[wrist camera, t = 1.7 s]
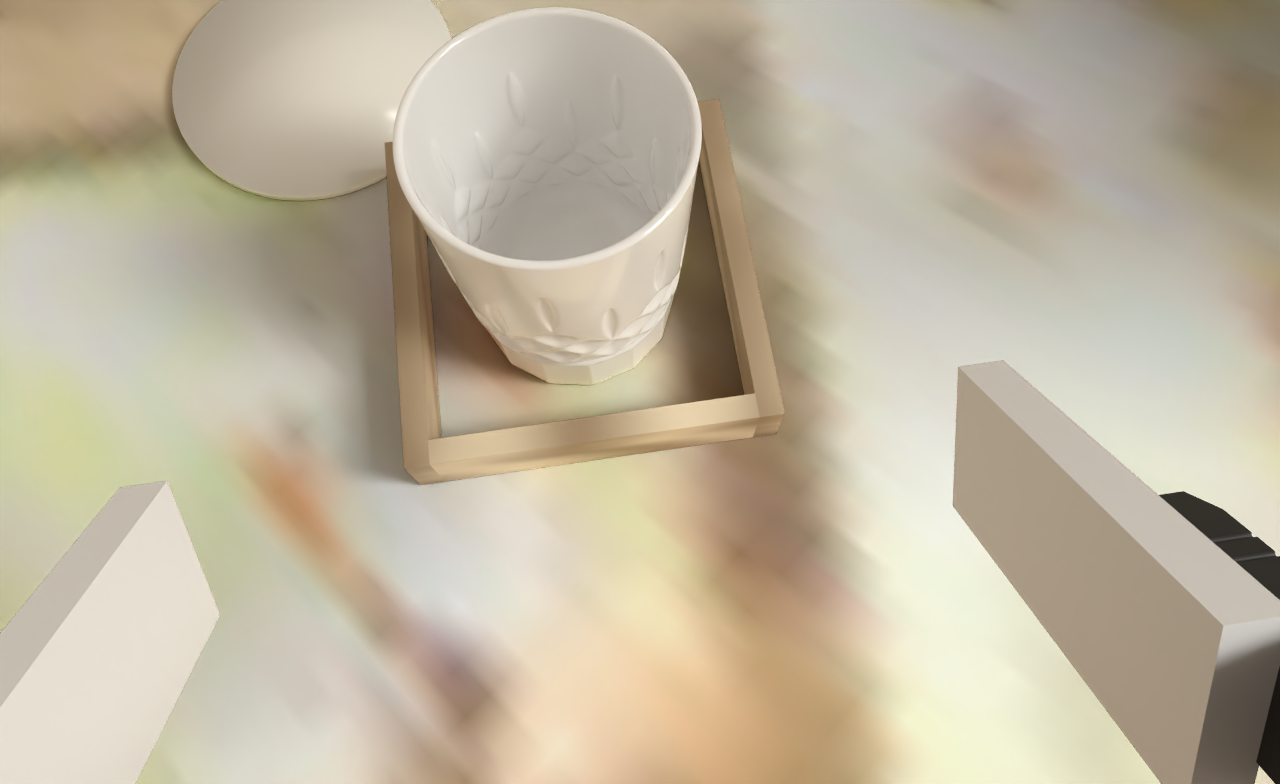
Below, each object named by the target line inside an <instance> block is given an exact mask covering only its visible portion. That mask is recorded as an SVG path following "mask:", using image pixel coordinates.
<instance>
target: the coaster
mask: <svg viewBox="0 0 1280 784" xmlns="http://www.w3.org/2000/svg"><path fill="white" fill-rule="evenodd" d="M451 39H452V37H451V35H450V32H449V29H448V26H447V24H446V22H445V20H444V19H443V17H442V15H441V13H440V12H439V10H438V9H437V8H436V6H435V5H434V4H433V3H432V1H431V0H222V1H220V2H219V3H218V4H217V5H215V6H214V7H213V8H212V9H211V10H210V11H209V12H208V13H207V14H206V15H205V16H204V17H203V18H202V20H201V21H200V22H199V24H198V25H197V26H196V27H195V29H194V30H193V31H192V33H191V35H190V36H189V38H188V40H187V41H186V43H185V45H184V47H183V49H182V51H181V54H180V56H179V58H178V61H177V65H176V69H175V72H174V77H173V86H172V101H173V109H174V114H175V118H176V122H177V124H178V127H179V129H180V132H181V134H182V136H183V138H184V139H185V141H186V143H187V144H188V146H189V147H190V149H191V150H192V151H193V152H194V154H195V155H196V156H197V157H198V158H199V159H200V161H201V162H202V163H203V164H204V165H205V166H206V167H207V168H208V169H209V170H211V171H212V172H213V173H214V174H215V175H216V176H218V177H219V178H221V179H223V180H224V181H226V182H227V183H229V184H231V185H232V186H235V187H237V188H239V189H242V190H244V191H246V192H249V193H252V194H256V195H259V196H263V197H267V198H273V199H280V200H295V201H306V200H319V199H326V198H331V197H336V196H341V195H344V194H348V193H351V192H354V191H357V190H360V189H363V188H365V187H367V186H370V185H372V184H374V183H377V182H378V181H380V180H382V179H384V178H386V177H387V176H386V159H385V143H386V142H393V130H394V123H395V119H396V115H397V111H398V108H399V105H400V103H401V100H402V98H403V95H404V93H405V91H406V89H407V87H408V86H409V84H410V82H411V81H412V79H413V78H414V76H415V75H416V73H417V72H418V71H419V69H420V68H421V67H422V66H423V64H424V63H425V62H426V61H427V60H428V59H429V58H430V57H431V56H432V55H433V54H434V53H435V52H436V51H437V50H438V49H439V48H440V47H442V46H443V45H444V44H445V43H447V42H448V41H449V40H451Z"/></svg>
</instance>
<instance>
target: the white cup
mask: <svg viewBox="0 0 1280 784" xmlns="http://www.w3.org/2000/svg"><path fill="white" fill-rule="evenodd" d="M701 142H702V124H701V116H700V110H699V106H698V102H697V99H696V96H695V93H694V91H693V88H692V86H691V84H690V82H689V80H688V78H687V76H686V74H685V73H684V71H683V70H682V68H681V67H680V65H679V64H678V63H677V62H676V60H675V59H674V58H673V57H672V56H671V55H670V53H669V52H668V51H667V50H666V49H665V48H664V47H662V46H661V45H660V44H659V43H658V42H657V41H655V40H654V39H653V38H651V37H650V36H649V35H647V34H646V33H644V32H643V31H641V30H639V29H638V28H636V27H634V26H632V25H630V24H628V23H626V22H624V21H622V20H619V19H617V18H614V17H611V16H608V15H605V14H602V13H598V12H594V11H589V10H584V9H577V8H568V7H540V8H530V9H524V10H518V11H514V12H510V13H506V14H502V15H499V16H496V17H493V18H490V19H488V20H485V21H483V22H480V23H478V24H476V25H474V26H472V27H470V28H468V29H466V30H465V31H463V32H461V33H460V34H458V35H457V36H455V37H454V38H452V39H451V40H449V41H448V42H447V43H445V44H444V45H443V46H442V47H440V48H439V49H438V50H437V51H436V52H435V53H434V54H433V55H432V56H431V57H430V58H429V59H428V60H427V61H426V62H425V63H424V64H423V66H422V67H421V68H420V69H419V71H418V72H417V73H416V75H415V76H414V78H413V79H412V81H411V82H410V84H409V86H408V87H407V89H406V91H405V93H404V95H403V98H402V100H401V103H400V105H399V108H398V111H397V115H396V119H395V123H394V130H393V159H394V165H395V170H396V174H397V178H398V181H399V183H400V186H401V188H402V191H403V193H404V195H405V197H406V199H407V201H408V202H409V204H410V206H411V207H412V209H413V211H414V213H415V214H416V216H417V218H418V219H419V221H420V223H421V225H422V226H423V228H424V230H425V232H426V233H427V235H428V237H429V239H430V241H431V242H432V244H433V246H434V248H435V249H436V251H437V253H438V255H439V257H440V258H441V260H442V262H443V264H444V265H445V267H446V269H447V271H448V272H449V274H450V276H451V278H452V279H453V281H454V282H455V284H456V285H457V286H458V288H459V290H460V291H461V293H462V295H463V296H464V298H465V300H466V301H467V303H468V304H469V306H470V307H471V309H472V311H473V312H474V314H475V315H476V317H477V318H478V320H479V321H480V322H481V324H482V325H484V326H485V327H486V329H487V331H488V332H489V334H490V335H491V336H492V338H493V339H494V341H495V342H496V343H497V345H498V346H499V347H500V349H501V350H502V352H503V353H504V354H505V356H506V357H507V359H508V360H509V361H510V363H511V364H513V365H515V366H517V367H519V368H521V369H522V370H524V371H526V372H528V373H530V374H532V375H534V376H536V377H538V378H540V379H542V380H544V381H546V382H548V383H557V384H582V385H594V384H596V383H599V382H601V381H604V380H606V379H609V378H611V377H614V376H616V375H619V374H621V373H624V372H626V371H629V370H631V369H633V368H634V367H635V366H636V365H637V364H638V363H639V362H640V361H641V360H642V359H643V358H644V357H645V356H646V355H647V353H648V352H649V351H650V350H651V349H652V348H653V347H654V346H655V345H656V344H657V343H658V342H659V341H660V340H661V338H662V336H663V333H664V329H665V326H666V323H667V319H668V316H669V312H670V309H671V306H672V302H673V298H674V293H675V291H676V288H677V285H678V280H679V276H680V270H681V267H682V261H683V257H684V252H685V246H686V241H687V234H688V227H689V221H690V214H691V207H692V200H693V194H694V187H695V181H696V175H697V169H698V163H699V157H700V151H701Z"/></svg>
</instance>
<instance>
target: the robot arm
mask: <svg viewBox="0 0 1280 784" xmlns="http://www.w3.org/2000/svg"><path fill="white" fill-rule="evenodd" d="M953 507H954V508H955V509H956V511H957V512H958V513H959V515H960V516H961V517H962V519H963V520H964V521H965V523H966V524H967V525H968V527H969V528H970V529H971V531H972V532H973V533H974V535H975V536H976V537H977V539H978V540H979V541H980V543H981V544H982V545H983V547H984V548H985V549H986V551H987V552H988V553H989V555H990V556H991V557H992V559H993V560H994V561H995V563H996V564H997V565H998V567H999V568H1000V569H1001V571H1002V572H1003V573H1004V575H1005V576H1006V577H1007V579H1008V580H1009V581H1010V583H1011V584H1012V585H1013V587H1014V588H1015V589H1016V591H1017V592H1018V593H1019V595H1020V596H1021V597H1022V599H1023V600H1024V601H1025V603H1026V604H1027V605H1028V607H1029V608H1030V609H1031V611H1032V612H1033V613H1034V615H1035V616H1036V617H1037V619H1038V620H1039V621H1040V623H1041V624H1042V625H1043V627H1044V628H1045V629H1046V631H1047V632H1048V633H1049V635H1050V636H1051V637H1052V639H1053V640H1054V641H1055V643H1056V644H1057V645H1058V647H1059V648H1060V649H1061V651H1062V652H1063V653H1064V655H1065V656H1066V657H1067V659H1068V660H1069V661H1070V663H1071V664H1072V665H1073V667H1074V668H1075V669H1076V671H1077V672H1078V673H1079V675H1080V676H1081V677H1082V679H1083V680H1084V681H1085V683H1086V684H1087V685H1088V687H1089V688H1090V689H1091V691H1092V692H1093V693H1094V695H1095V696H1096V697H1097V699H1098V700H1099V701H1100V703H1101V704H1102V705H1103V707H1104V708H1105V709H1106V711H1107V712H1108V713H1109V715H1110V716H1111V717H1112V719H1113V720H1114V721H1115V723H1116V724H1117V725H1118V727H1119V728H1120V729H1121V731H1122V732H1123V733H1124V735H1125V736H1126V737H1127V739H1128V740H1129V741H1130V743H1131V744H1132V745H1133V747H1134V748H1135V749H1136V751H1137V752H1138V753H1139V755H1140V756H1141V757H1142V759H1143V760H1144V761H1145V763H1146V764H1147V765H1148V767H1149V768H1150V769H1151V771H1152V772H1153V773H1154V775H1155V776H1156V777H1157V779H1158V780H1159V781H1160V783H1161V784H1254V783H1255V779H1256V775H1257V771H1258V767H1259V766H1260V767H1261V768H1262V769H1263V770H1264V771H1265V773H1266V774H1267V775H1268V776H1269V777H1270V778H1271V779H1272V780H1273V782H1274V783H1275V784H1280V556H1279V557H1277V556H1276V555H1275V551H1274V550H1273V549H1271V548H1270V547H1269V546H1268V545H1266V544H1265V543H1264V542H1263V541H1261V540H1260V539H1259V538H1258V537H1252V535H1251V532H1250V531H1249V530H1248V529H1247V528H1245V527H1244V526H1243V525H1242V524H1240V523H1239V522H1238V521H1237V520H1235V519H1234V518H1233V517H1232V516H1230V515H1229V514H1228V513H1227V512H1225V511H1224V510H1223V509H1221V508H1219V507H1217V506H1214V505H1212V504H1210V503H1208V502H1206V501H1203V500H1201V499H1199V498H1197V497H1195V496H1192V495H1190V494H1188V493H1186V492H1184V491H1183V492H1176V493H1169V494H1163V495H1158V494H1157V493H1155V492H1154V491H1153V490H1152V489H1151V488H1150V487H1149V486H1147V485H1146V484H1145V483H1144V482H1143V481H1142V480H1140V479H1139V478H1138V477H1137V476H1136V475H1135V474H1134V473H1132V472H1131V471H1130V470H1129V469H1128V468H1127V467H1125V466H1124V465H1123V464H1122V463H1121V462H1120V461H1119V460H1117V459H1116V458H1115V457H1114V456H1113V455H1112V454H1110V453H1109V452H1108V451H1107V450H1106V449H1105V448H1104V447H1102V446H1101V445H1100V444H1099V443H1098V442H1097V441H1095V440H1094V439H1093V438H1092V437H1091V436H1090V435H1089V434H1087V433H1086V432H1085V431H1084V430H1083V429H1082V428H1080V427H1079V426H1078V425H1077V424H1076V423H1075V422H1074V421H1072V420H1071V419H1070V418H1069V417H1068V416H1067V415H1065V414H1064V413H1063V412H1062V411H1061V410H1060V409H1059V408H1057V407H1056V406H1055V405H1054V404H1053V403H1052V402H1050V401H1049V400H1048V399H1047V398H1046V397H1045V396H1044V395H1042V394H1041V393H1040V392H1039V391H1038V390H1037V389H1035V388H1034V387H1033V386H1032V385H1031V384H1030V383H1029V382H1027V381H1026V380H1025V379H1024V378H1023V377H1022V376H1020V375H1019V374H1018V373H1017V372H1016V371H1015V370H1014V369H1012V368H1011V367H1010V366H1009V365H1008V364H1007V363H1005V362H1004V361H1003V360H1002V361H995V362H988V363H981V364H974V365H968V366H961V367H958V387H957V412H956V437H955V462H954V487H953ZM219 617H220V613H219V611H218V608H217V606H216V603H215V601H214V598H213V596H212V593H211V590H210V588H209V585H208V583H207V580H206V578H205V575H204V573H203V570H202V568H201V565H200V562H199V560H198V557H197V555H196V552H195V550H194V547H193V545H192V542H191V540H190V537H189V534H188V532H187V529H186V527H185V524H184V522H183V519H182V517H181V514H180V512H179V509H178V506H177V504H176V501H175V499H174V496H173V494H172V491H171V489H170V486H169V484H168V481H162V482H155V483H148V484H141V485H134V486H127V487H120V488H119V489H118V490H117V492H116V493H115V494H114V495H113V496H112V498H111V499H110V500H109V501H108V503H107V504H106V505H105V506H104V507H103V509H102V510H101V511H100V512H99V514H98V515H97V516H96V517H95V518H94V520H93V521H92V522H91V523H90V525H89V526H88V527H87V528H86V529H85V531H84V532H83V533H82V534H81V536H80V537H79V538H78V539H77V540H76V542H75V543H74V544H73V545H72V546H71V548H70V549H69V550H68V551H67V553H66V554H65V555H64V556H63V557H62V559H61V560H60V561H59V562H58V564H57V565H56V566H55V567H54V568H53V570H52V571H51V572H50V573H49V575H48V576H47V577H46V578H45V579H44V581H43V582H42V583H41V584H40V586H39V587H38V588H37V589H36V590H35V592H34V593H33V594H32V595H31V597H30V598H29V599H28V600H27V601H26V603H25V604H24V605H23V606H22V608H21V609H20V610H19V611H18V612H17V614H16V615H15V616H14V617H13V619H12V620H11V621H10V622H9V623H8V625H7V626H6V627H5V628H4V630H3V631H2V632H1V633H0V784H135V783H136V782H137V780H138V778H139V776H140V774H141V772H142V770H143V768H144V766H145V764H146V762H147V760H148V758H149V756H150V754H151V752H152V750H153V748H154V746H155V744H156V742H157V740H158V738H159V736H160V734H161V732H162V730H163V728H164V726H165V724H166V722H167V720H168V718H169V716H170V714H171V712H172V710H173V708H174V706H175V704H176V702H177V700H178V698H179V696H180V694H181V692H182V690H183V688H184V686H185V684H186V682H187V680H188V678H189V676H190V674H191V672H192V670H193V668H194V666H195V664H196V662H197V660H198V658H199V656H200V654H201V652H202V650H203V648H204V646H205V644H206V642H207V640H208V638H209V636H210V634H211V632H212V630H213V628H214V626H215V624H216V622H217V620H218V619H219Z"/></svg>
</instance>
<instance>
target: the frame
mask: <svg viewBox="0 0 1280 784" xmlns="http://www.w3.org/2000/svg"><path fill="white" fill-rule="evenodd" d="M697 102H698V106H699V110H700V116H701V124H702V142H701V151H700V157H699V163H700V168H701V173H702V179H703V184H704V189H705V194H706V199H707V204H708V209H709V215H710V220H711V225H712V230H713V235H714V240H715V245H716V251H717V256H718V261H719V266H720V271H721V276H722V282H723V287H724V292H725V297H726V302H727V307H728V312H729V318H730V323H731V328H732V333H733V338H734V343H735V348H736V354H737V359H738V364H739V369H740V374H741V379H742V384H743V390H744V395H740V396H733V397H726V398H719V399H712V400H705V401H698V402H691V403H684V404H677V405H670V406H663V407H656V408H649V409H642V410H635V411H628V412H621V413H614V414H607V415H600V416H593V417H586V418H579V419H572V420H565V421H558V422H550V423H543V424H536V425H529V426H522V427H515V428H508V429H501V430H494V431H487V432H480V433H473V434H466V435H459V436H452V437H445V438H442V435H441V421H440V408H439V395H438V381H437V368H436V354H435V341H434V328H433V314H432V301H431V287H430V274H429V261H428V247H427V234H426V232H425V230H424V228H423V226H422V225H421V223H420V221H419V219H418V218H417V216H416V214H415V213H414V211H413V209H412V207H411V206H410V204H409V202H408V201H407V199H406V197H405V195H404V193H403V191H402V188H401V186H400V183H399V181H398V178H397V174H396V170H395V165H394V159H393V142H386V143H385V159H386V176H387V193H388V210H389V226H390V243H391V260H392V277H393V294H394V310H395V327H396V344H397V361H398V378H399V394H400V411H401V428H402V445H403V462H404V469H405V470H406V471H407V472H408V473H409V474H410V475H411V476H412V477H413V478H414V479H415V480H416V481H417V482H418V483H419V484H420V485H425V484H432V483H439V482H446V481H453V480H460V479H466V478H473V477H480V476H487V475H494V474H501V473H508V472H515V471H522V470H529V469H536V468H543V467H550V466H557V465H564V464H571V463H578V462H585V461H591V460H598V459H605V458H612V457H619V456H626V455H633V454H640V453H647V452H654V451H661V450H668V449H675V448H682V447H689V446H696V445H703V444H710V443H716V442H723V441H730V440H737V439H744V438H751V437H758V436H765V435H772V434H776V433H777V431H778V428H779V426H780V424H781V421H782V419H783V417H784V414H785V412H784V407H783V402H782V398H781V393H780V388H779V383H778V378H777V374H776V369H775V364H774V359H773V354H772V350H771V345H770V340H769V335H768V330H767V326H766V321H765V316H764V311H763V306H762V302H761V297H760V292H759V287H758V282H757V278H756V273H755V268H754V263H753V258H752V254H751V249H750V244H749V239H748V234H747V230H746V225H745V220H744V215H743V210H742V206H741V201H740V196H739V191H738V187H737V182H736V177H735V172H734V167H733V163H732V158H731V153H730V148H729V143H728V139H727V134H726V129H725V124H724V119H723V115H722V110H721V105H720V100H719V99H713V100H705V101H697Z"/></svg>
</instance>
